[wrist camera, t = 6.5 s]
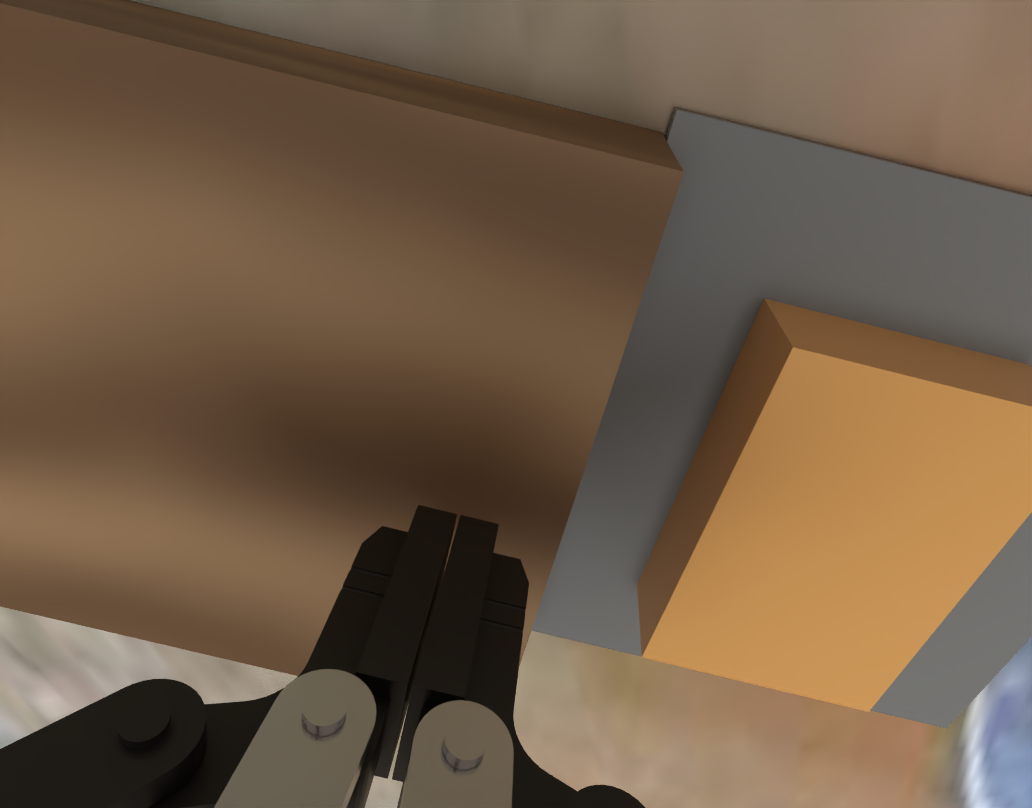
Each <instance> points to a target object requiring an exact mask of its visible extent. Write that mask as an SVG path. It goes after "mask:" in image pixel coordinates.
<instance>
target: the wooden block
mask: <svg viewBox="0 0 1032 808" xmlns="http://www.w3.org/2000/svg"><path fill="white" fill-rule="evenodd" d="M683 173H684V171H683V169H682V168H681V166H680V164H679V162H678V160H677V159H676V157H675V155H674V153H673V151H672V150H671V148H670V146H669V144H668V142H667V141H666V139H665V137H664V135H663V134H662V132H658V131H654V130H650V129H646V128H642V127H638V126H634V125H630V124H626V123H622V122H617V121H613V120H609V119H605V118H601V117H597V116H593V115H589V114H585V113H581V112H577V111H573V110H569V109H565V108H561V107H557V106H553V105H549V104H545V103H541V102H537V101H533V100H528V99H524V98H520V97H516V96H512V95H508V94H504V93H500V92H496V91H492V90H488V89H484V88H480V87H476V86H472V85H468V84H464V83H460V82H456V81H452V80H448V79H444V78H440V77H435V76H431V75H427V74H423V73H419V72H415V71H411V70H407V69H403V68H399V67H395V66H391V65H387V64H383V63H379V62H375V61H371V60H367V59H363V58H359V57H355V56H351V55H347V54H342V53H338V52H334V51H330V50H326V49H322V48H318V47H314V46H310V45H306V44H302V43H298V42H294V41H290V40H286V39H282V38H278V37H274V36H270V35H266V34H262V33H258V32H254V31H249V30H245V29H241V28H237V27H233V26H229V25H225V24H221V23H217V22H213V21H209V20H205V19H201V18H197V17H193V16H189V15H185V14H181V13H177V12H173V11H169V10H165V9H161V8H156V7H152V6H148V5H144V4H140V3H136V2H132V1H128V0H0V606H1V607H5V608H10V609H14V610H18V611H22V612H27V613H31V614H35V615H40V616H44V617H48V618H52V619H57V620H61V621H65V622H70V623H74V624H78V625H82V626H87V627H91V628H95V629H100V630H104V631H108V632H112V633H117V634H121V635H125V636H129V637H134V638H138V639H142V640H147V641H151V642H155V643H159V644H164V645H168V646H172V647H177V648H181V649H185V650H189V651H194V652H198V653H202V654H207V655H211V656H215V657H219V658H224V659H228V660H232V661H236V662H241V663H245V664H249V665H254V666H258V667H262V668H266V669H271V670H275V671H279V672H284V673H288V674H292V675H296V676H299V675H300V673H301V672H302V671H303V669H304V668H305V666H306V664H307V663H308V661H309V659H310V656H311V654H312V652H313V650H314V648H315V645H316V643H317V641H318V639H319V637H320V634H321V632H322V630H323V628H324V626H325V623H326V621H327V619H328V617H329V615H330V612H331V610H332V608H333V606H334V604H335V601H336V599H337V597H338V595H339V592H340V590H342V587H343V584H344V581H345V579H346V577H347V575H348V573H349V571H350V570H351V566H352V564H353V562H354V559H355V557H356V555H357V553H358V551H359V548H360V546H361V544H362V543H363V542H364V541H365V540H366V539H367V538H368V537H370V536H371V535H372V534H373V533H374V532H376V531H377V530H378V529H379V528H380V527H382V526H385V527H389V528H393V529H398V530H402V531H406V532H408V531H409V528H410V525H411V522H412V520H413V517H414V514H415V512H416V509H417V507H418V505H422V506H427V507H431V508H435V509H439V510H443V511H447V512H451V513H455V514H457V518H456V523H455V527H454V532H453V536H452V540H451V545H450V549H449V554H450V550H451V547H452V543H453V540H454V536H455V532H456V529H457V525H458V522H459V518H460V515H464V516H468V517H472V518H477V519H481V520H485V521H489V522H493V523H497V524H499V526H498V532H497V537H496V542H495V547H494V552H493V553H497V554H501V555H505V556H509V557H514V558H518V559H521V562H522V565H523V568H524V570H525V573H526V576H527V579H528V581H529V589H528V597H527V605H526V610H525V621H524V629H523V637H522V645H521V653H520V662H521V659H522V656H523V653H524V650H525V647H526V644H527V641H528V638H529V635H530V632H531V629H532V626H533V623H534V620H535V617H536V614H537V611H538V608H539V605H540V602H541V599H542V596H543V593H544V590H545V587H546V584H547V581H548V578H549V575H550V572H551V569H552V566H553V563H554V560H555V557H556V554H557V551H558V548H559V545H560V542H561V539H562V536H563V533H564V530H565V527H566V524H567V521H568V518H569V515H570V512H571V509H572V506H573V503H574V500H575V497H576V494H577V491H578V488H579V485H580V482H581V479H582V476H583V473H584V470H585V467H586V464H587V461H588V458H589V455H590V452H591V449H592V446H593V443H594V440H595V437H596V434H597V431H598V428H599V425H600V422H601V419H602V416H603V413H604V410H605V407H606V404H607V401H608V398H609V395H610V392H611V389H612V386H613V383H614V380H615V377H616V374H617V371H618V368H619V365H620V362H621V359H622V356H623V353H624V350H625V347H626V344H627V341H628V338H629V335H630V332H631V329H632V326H633V323H634V320H635V317H636V314H637V311H638V308H639V305H640V302H641V299H642V296H643V293H644V290H645V287H646V284H647V281H648V278H649V275H650V272H651V269H652V266H653V263H654V260H655V257H656V254H657V251H658V248H659V245H660V242H661V239H662V236H663V233H664V230H665V227H666V224H667V221H668V218H669V215H670V212H671V209H672V206H673V203H674V200H675V197H676V194H677V191H678V188H679V185H680V182H681V179H682V176H683ZM449 554H448V557H449ZM447 561H448V558H447ZM446 565H447V562H446ZM445 568H446V567H445ZM444 572H445V571H444ZM520 662H519V665H520Z"/></svg>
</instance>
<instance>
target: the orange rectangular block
mask: <svg viewBox="0 0 1032 808" xmlns="http://www.w3.org/2000/svg"><path fill="white" fill-rule="evenodd" d="M1031 512H1032V367H1031V366H1029V365H1028V364H1024V363H1020V362H1016V361H1012V360H1008V359H1004V358H1000V357H996V356H992V355H988V354H984V353H980V352H976V351H972V350H968V349H964V348H960V347H956V346H952V345H948V344H944V343H940V342H936V341H932V340H928V339H924V338H920V337H916V336H912V335H908V334H904V333H900V332H896V331H892V330H888V329H884V328H880V327H876V326H872V325H868V324H865V323H861V322H857V321H853V320H849V319H845V318H841V317H837V316H833V315H829V314H825V313H821V312H817V311H813V310H809V309H805V308H801V307H797V306H793V305H789V304H785V303H781V302H777V301H773V300H769V299H765V298H764V300H763V302H762V304H761V307H760V309H759V311H758V313H757V316H756V318H755V320H754V322H753V325H752V327H751V329H750V331H749V334H748V336H747V338H746V340H745V343H744V345H743V347H742V349H741V352H740V354H739V356H738V358H737V361H736V363H735V365H734V367H733V370H732V372H731V374H730V376H729V379H728V381H727V383H726V385H725V388H724V390H723V392H722V395H721V397H720V399H719V401H718V404H717V406H716V408H715V410H714V413H713V415H712V417H711V419H710V422H709V424H708V426H707V428H706V431H705V433H704V435H703V437H702V440H701V442H700V444H699V446H698V449H697V451H696V453H695V455H694V458H693V460H692V462H691V464H690V467H689V469H688V471H687V473H686V476H685V478H684V480H683V483H682V485H681V487H680V489H679V492H678V494H677V496H676V498H675V501H674V503H673V505H672V507H671V510H670V512H669V514H668V516H667V519H666V521H665V523H664V525H663V528H662V530H661V532H660V534H659V537H658V539H657V541H656V543H655V546H654V548H653V550H652V552H651V555H650V557H649V559H648V561H647V564H646V566H645V568H644V571H643V573H642V575H641V577H640V580H639V582H638V584H637V593H638V608H639V623H640V638H641V653H642V658H646V659H650V660H655V661H659V662H663V663H667V664H671V665H675V666H679V667H684V668H688V669H692V670H696V671H700V672H704V673H709V674H713V675H717V676H721V677H725V678H729V679H734V680H738V681H742V682H746V683H750V684H754V685H759V686H763V687H767V688H771V689H775V690H779V691H784V692H788V693H792V694H796V695H800V696H804V697H809V698H813V699H817V700H821V701H825V702H829V703H833V704H838V705H842V706H846V707H850V708H854V709H858V710H863V711H867V712H869V711H870V710H871V709H872V707H873V706H874V705H875V704H876V702H877V701H878V700H879V699H880V697H881V696H882V695H883V694H884V693H885V691H886V690H887V689H888V688H889V686H890V685H891V684H892V683H893V682H894V680H895V679H896V678H897V677H898V675H899V674H900V673H901V672H902V670H903V669H904V668H905V667H906V666H907V664H908V663H909V662H910V661H911V659H912V658H913V657H914V656H915V655H916V653H917V652H918V651H919V650H920V648H921V647H922V646H923V645H924V644H925V642H926V641H927V640H928V639H929V637H930V636H931V635H932V634H933V632H934V631H935V630H936V629H937V628H938V626H939V625H940V624H941V623H942V621H943V620H944V619H945V618H946V617H947V615H948V614H949V613H950V612H951V610H952V609H953V608H954V607H955V605H956V604H957V603H958V602H959V601H960V599H961V598H962V597H963V596H964V594H965V593H966V592H967V591H968V590H969V588H970V587H971V586H972V585H973V583H974V582H975V581H976V580H977V579H978V577H979V576H980V575H981V574H982V572H983V571H984V570H985V569H986V567H987V566H988V565H989V564H990V563H991V561H992V560H993V559H994V558H995V556H996V555H997V554H998V553H999V552H1000V550H1001V549H1002V548H1003V547H1004V545H1005V544H1006V543H1007V542H1008V540H1009V539H1010V538H1011V537H1012V536H1013V534H1014V533H1015V532H1016V531H1017V529H1018V528H1019V527H1020V526H1021V525H1022V523H1023V522H1024V521H1025V520H1026V518H1027V517H1028V516H1029V515H1030V514H1031Z"/></svg>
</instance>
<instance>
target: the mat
mask: <svg viewBox="0 0 1032 808" xmlns="http://www.w3.org/2000/svg"><path fill="white" fill-rule="evenodd" d="M665 139H666V141H667V142H668V144H669V146H670V148H671V150H672V151H673V153H674V155H675V157H676V159H677V160H678V162H679V164H680V166H681V168H682V169H683V171H684V173H683V176H682V179H681V182H680V185H679V188H678V191H677V194H676V197H675V200H674V203H673V206H672V209H671V212H670V215H669V218H668V221H667V224H666V227H665V230H664V233H663V236H662V239H661V242H660V245H659V248H658V251H657V254H656V257H655V260H654V263H653V266H652V269H651V272H650V275H649V278H648V281H647V284H646V287H645V290H644V293H643V296H642V299H641V302H640V305H639V308H638V311H637V314H636V317H635V320H634V323H633V326H632V329H631V332H630V335H629V338H628V341H627V344H626V347H625V350H624V353H623V356H622V359H621V362H620V365H619V368H618V371H617V374H616V377H615V380H614V383H613V386H612V389H611V392H610V395H609V398H608V401H607V404H606V407H605V410H604V413H603V416H602V419H601V422H600V425H599V428H598V431H597V434H596V437H595V440H594V443H593V446H592V449H591V452H590V455H589V458H588V461H587V464H586V467H585V470H584V473H583V476H582V479H581V482H580V485H579V488H578V491H577V494H576V497H575V500H574V503H573V506H572V509H571V512H570V515H569V518H568V521H567V524H566V527H565V530H564V533H563V536H562V539H561V542H560V545H559V548H558V551H557V554H556V557H555V560H554V563H553V566H552V569H551V572H550V575H549V578H548V581H547V584H546V587H545V590H544V593H543V596H542V599H541V602H540V605H539V608H538V611H537V614H536V617H535V620H534V623H533V626H532V629H531V630H532V631H536V632H540V633H544V634H549V635H553V636H557V637H561V638H566V639H570V640H574V641H578V642H582V643H587V644H591V645H595V646H599V647H604V648H608V649H612V650H616V651H621V652H625V653H629V654H633V655H638V656H642V653H641V638H640V623H639V608H638V593H637V584H638V582H639V580H640V577H641V575H642V573H643V571H644V568H645V566H646V564H647V561H648V559H649V557H650V555H651V552H652V550H653V548H654V546H655V543H656V541H657V539H658V537H659V534H660V532H661V530H662V528H663V525H664V523H665V521H666V519H667V516H668V514H669V512H670V510H671V507H672V505H673V503H674V501H675V498H676V496H677V494H678V492H679V489H680V487H681V485H682V483H683V480H684V478H685V476H686V473H687V471H688V469H689V467H690V464H691V462H692V460H693V458H694V455H695V453H696V451H697V449H698V446H699V444H700V442H701V440H702V437H703V435H704V433H705V431H706V428H707V426H708V424H709V422H710V419H711V417H712V415H713V413H714V410H715V408H716V406H717V404H718V401H719V399H720V397H721V395H722V392H723V390H724V388H725V385H726V383H727V381H728V379H729V376H730V374H731V372H732V370H733V367H734V365H735V363H736V361H737V358H738V356H739V354H740V352H741V349H742V347H743V345H744V343H745V340H746V338H747V336H748V334H749V331H750V329H751V327H752V325H753V322H754V320H755V318H756V316H757V313H758V311H759V309H760V307H761V304H762V302H763V300H764V298H765V299H769V300H773V301H777V302H781V303H785V304H789V305H793V306H797V307H801V308H805V309H809V310H813V311H817V312H821V313H825V314H829V315H833V316H837V317H841V318H845V319H849V320H853V321H857V322H861V323H865V324H868V325H872V326H876V327H880V328H884V329H888V330H892V331H896V332H900V333H904V334H908V335H912V336H916V337H920V338H924V339H928V340H932V341H936V342H940V343H944V344H948V345H952V346H956V347H960V348H964V349H968V350H972V351H976V352H980V353H984V354H988V355H992V356H996V357H1000V358H1004V359H1008V360H1012V361H1016V362H1020V363H1024V364H1028V365H1029V366H1031V367H1032V196H1031V195H1027V194H1023V193H1019V192H1015V191H1011V190H1007V189H1002V188H998V187H994V186H990V185H986V184H982V183H978V182H974V181H970V180H966V179H962V178H958V177H954V176H950V175H946V174H942V173H938V172H934V171H930V170H926V169H922V168H918V167H914V166H910V165H906V164H902V163H898V162H894V161H890V160H886V159H881V158H877V157H873V156H869V155H865V154H861V153H857V152H853V151H849V150H845V149H841V148H837V147H833V146H829V145H825V144H821V143H817V142H813V141H809V140H805V139H801V138H797V137H793V136H789V135H785V134H781V133H777V132H773V131H769V130H765V129H760V128H756V127H752V126H748V125H744V124H740V123H736V122H732V121H728V120H724V119H720V118H716V117H712V116H708V115H704V114H700V113H696V112H692V111H688V110H684V109H680V108H676V107H675V109H674V112H673V115H672V118H671V122H670V125H669V128H668V131H667V134H666V138H665ZM1031 637H1032V512H1031V514H1030V515H1029V516H1028V517H1027V518H1026V520H1025V521H1024V522H1023V523H1022V525H1021V526H1020V527H1019V528H1018V529H1017V531H1016V532H1015V533H1014V534H1013V536H1012V537H1011V538H1010V539H1009V540H1008V542H1007V543H1006V544H1005V545H1004V547H1003V548H1002V549H1001V550H1000V552H999V553H998V554H997V555H996V556H995V558H994V559H993V560H992V561H991V563H990V564H989V565H988V566H987V567H986V569H985V570H984V571H983V572H982V574H981V575H980V576H979V577H978V579H977V580H976V581H975V582H974V583H973V585H972V586H971V587H970V588H969V590H968V591H967V592H966V593H965V594H964V596H963V597H962V598H961V599H960V601H959V602H958V603H957V604H956V605H955V607H954V608H953V609H952V610H951V612H950V613H949V614H948V615H947V617H946V618H945V619H944V620H943V621H942V623H941V624H940V625H939V626H938V628H937V629H936V630H935V631H934V632H933V634H932V635H931V636H930V637H929V639H928V640H927V641H926V642H925V644H924V645H923V646H922V647H921V648H920V650H919V651H918V652H917V653H916V655H915V656H914V657H913V658H912V659H911V661H910V662H909V663H908V664H907V666H906V667H905V668H904V669H903V670H902V672H901V673H900V674H899V675H898V677H897V678H896V679H895V680H894V682H893V683H892V684H891V685H890V686H889V688H888V689H887V690H886V691H885V693H884V694H883V695H882V696H881V697H880V699H879V700H878V701H877V702H876V704H875V705H874V706H873V707H872V709H871V711H875V712H879V713H884V714H888V715H892V716H896V717H901V718H905V719H909V720H913V721H918V722H922V723H926V724H930V725H935V726H939V727H943V728H948V727H949V725H950V724H951V723H952V722H953V721H954V720H955V719H956V718H957V717H958V716H959V715H960V714H961V712H962V711H963V710H964V709H965V708H966V707H967V706H968V705H969V704H970V703H971V702H972V701H973V699H974V698H975V697H976V696H977V695H978V694H979V693H980V692H981V691H982V690H983V689H984V688H985V686H986V685H987V684H988V683H989V682H990V681H991V680H992V679H993V678H994V677H995V676H996V675H997V673H998V672H999V671H1000V670H1001V669H1002V668H1003V667H1004V666H1005V665H1006V664H1007V663H1008V662H1009V661H1010V659H1011V658H1012V657H1013V656H1014V655H1015V654H1016V653H1017V652H1018V651H1019V650H1020V649H1021V648H1022V646H1023V645H1024V644H1025V643H1026V642H1027V641H1028V640H1029V639H1030V638H1031Z"/></svg>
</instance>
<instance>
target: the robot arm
mask: <svg viewBox="0 0 1032 808" xmlns="http://www.w3.org/2000/svg"><path fill="white" fill-rule="evenodd" d="M456 518H457V514H455V513H451V512H447V511H443V510H439V509H435V508H431V507H427V506H422V505H418V507H417V509H416V512H415V514H414V517H413V520H412V522H411V525H410V528H409V531H408V532H406V531H402V530H398V529H393V528H389V527H385V526H382V527H380V528H379V529H378V530H377V531H376V532H374V533H373V534H372V535H371V536H370V537H368V538H367V539H366V540H365V541H364V542H363V543H362V544H361V546H360V548H359V551H358V553H357V555H356V557H355V559H354V562H353V564H352V566H351V570H350V571H349V573H348V575H347V577H346V579H345V581H344V584H343V587H342V590H340V592H339V595H338V597H337V599H336V601H335V604H334V606H333V608H332V610H331V612H330V615H329V617H328V619H327V621H326V623H325V626H324V628H323V630H322V632H321V634H320V637H319V639H318V641H317V643H316V645H315V648H314V650H313V652H312V654H311V656H310V659H309V661H308V663H307V664H306V666H305V668H304V669H303V671H302V672H301V673H300V675H299V676H298V677H297V678H296V679H294V680H293V681H292V682H290V683H289V684H288V685H287V686H286V687H285V688H283V689H281V690H280V691H278V692H276V693H274V694H271V695H269V696H267V697H264V698H260V699H256V700H251V701H243V702H230V703H218V704H205V705H204V703H203V701H202V699H201V697H200V696H199V694H198V693H197V692H196V691H195V690H194V689H193V688H191V687H190V686H188V685H186V684H184V683H182V682H179V681H175V680H169V679H152V680H146V681H142V682H138V683H135V684H132V685H130V686H127V687H125V688H123V689H121V690H119V691H117V692H115V693H113V694H111V695H109V696H107V697H105V698H103V699H101V700H99V701H97V702H95V703H93V704H90V705H88V706H86V707H84V708H82V709H80V710H78V711H76V712H74V713H72V714H70V715H68V716H66V717H64V718H62V719H60V720H58V721H56V722H54V723H52V724H50V725H48V726H46V727H44V728H42V729H40V730H38V731H36V732H34V733H32V734H30V735H28V736H26V737H24V738H22V739H20V740H18V741H16V742H14V743H12V744H10V745H8V746H6V747H4V748H2V749H0V808H364V807H365V804H366V801H367V797H368V794H369V790H370V787H371V784H372V780H373V777H374V775H375V776H379V777H383V778H387V779H388V775H389V772H390V768H391V765H392V761H393V758H394V754H395V750H396V747H397V743H398V740H399V736H400V732H401V729H402V725H403V722H404V718H405V714H406V718H405V723H404V727H403V732H402V736H401V741H400V745H399V750H398V754H397V759H396V763H395V768H394V772H393V777H392V779H393V780H397V781H402V782H403V785H402V789H401V794H400V798H399V802H398V806H397V808H645V807H644V806H643V805H642V804H641V803H640V802H639V801H638V800H637V799H636V798H634V797H633V796H632V795H630V794H629V793H627V792H625V791H623V790H621V789H618V788H616V787H613V786H607V785H593V786H588V787H586V788H583V789H581V790H579V791H578V792H577V791H576V790H574V789H573V788H571V787H569V786H568V785H566V784H565V783H563V782H561V781H560V780H558V779H556V778H555V777H553V776H552V775H550V774H548V773H547V772H546V771H544V770H543V769H541V768H540V767H539V766H538V765H537V764H536V763H535V762H533V761H532V760H531V758H530V757H529V756H528V755H527V753H526V752H525V750H524V749H523V747H522V746H521V744H520V742H519V739H518V737H517V735H516V731H515V727H514V720H513V711H514V702H515V694H516V686H517V678H518V670H519V662H520V653H521V645H522V637H523V629H524V621H525V610H526V605H527V597H528V589H529V581H528V579H527V576H526V573H525V570H524V568H523V565H522V562H521V559H518V558H514V557H509V556H505V555H501V554H497V553H493V552H494V547H495V542H496V537H497V532H498V526H499V524H497V523H493V522H489V521H485V520H481V519H477V518H472V517H468V516H464V515H460V518H459V522H458V525H457V529H456V532H455V536H454V540H453V543H452V547H451V550H450V554H449V549H450V545H451V540H452V536H453V532H454V527H455V523H456ZM448 554H449V557H448ZM447 558H448V561H447ZM446 562H447V565H446ZM445 567H446V568H445ZM444 571H445V572H444ZM407 707H408V709H407ZM406 711H407V713H406Z"/></svg>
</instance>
